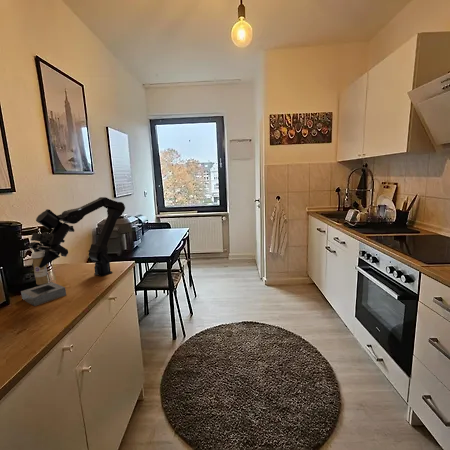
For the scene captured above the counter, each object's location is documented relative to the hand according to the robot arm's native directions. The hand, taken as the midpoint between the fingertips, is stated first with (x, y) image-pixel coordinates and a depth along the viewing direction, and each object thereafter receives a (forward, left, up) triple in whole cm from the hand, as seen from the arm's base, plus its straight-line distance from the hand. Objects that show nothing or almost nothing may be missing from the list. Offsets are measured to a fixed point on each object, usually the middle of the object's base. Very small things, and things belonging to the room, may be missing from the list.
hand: (36, 266), depth 117 cm
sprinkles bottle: (-1, 0, -8) cm, 8 cm away
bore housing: (-1, +2, -13) cm, 13 cm away
